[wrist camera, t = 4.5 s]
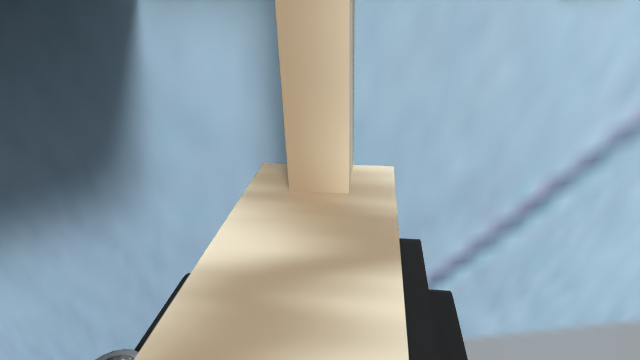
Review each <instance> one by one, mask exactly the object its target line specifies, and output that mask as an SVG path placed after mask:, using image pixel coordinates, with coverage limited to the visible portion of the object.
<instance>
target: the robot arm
mask: <svg viewBox="0 0 640 360" xmlns="http://www.w3.org/2000/svg"><path fill="white" fill-rule="evenodd" d="M399 242H400V254H401V267H402V279H403V292H404V304H405V317H406V329H407V342H408V354H409V360H468V359H467V355H466V351H465V346H464V342H463V338H462V334H461V329H460V325H459V321H458V317H457V312H456V308H455V304H454V300H453V296H452V293H451V292H450V291H444V290H429V289H428V283H427V277H426V271H425V265H424V258H423V252H422V246H421V241H420V239H401V238H400V239H399ZM190 274H191V273H188V274H186V275H185V276H184V277H183V278H182V280H181V281H180V283H179V284H178V286H177V287H176V289H175V290H174V292H173V293H172V295H171V296H170V298H169V299H168V301H167V302H166V304H165V305H164V307H163V308H162V310H161V311H160V313H159V314H158V316H157V317H156V319H155V320H154V322H153V323H152V324H151V326H150V327H149V329H148V330H147V332H146V333H145V335H144V336H143V338H142V339H141V341H140V342H139V344H138V345H137V347H136V348H135V350H130V349H122V350H116V351H112V352H110V353H107V354H105V355H102V356H100V357H99V358H97V359H96V360H134V359H135V357H136V356H137V354H138V353H139V351H140V350H141V348H142V347H143V345H144V344H145V342H146V341H147V339H148V338H149V336H150V334H151V333H152V331H153V330H154V328H155V327H156V325H157V324H158V322H159V321H160V319H161V318H162V316H163V315H164V313H165V312H166V310H167V309H168V307H169V306H170V304H171V303H172V301H173V300H174V298H175V296H176V295H177V293H178V292H179V290H180V289H181V287H182V286H183V284H184V283H185V281H186V280H187V278H188V277H189V275H190Z"/></svg>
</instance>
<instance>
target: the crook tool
mask: <svg viewBox="0 0 640 360" xmlns="http://www.w3.org/2000/svg"><path fill="white" fill-rule="evenodd" d="M354 1H355V0H275V9H276V22H277V36H278V49H279V62H280V76H281V89H282V102H283V115H284V129H285V142H286V155H287V163H263V164H262V166H261V167H260V169H259V170H258V172H257V173H256V175H255V176H254V178H253V179H252V181H251V182H250V184H249V186H248V187H247V189H246V190H245V192H244V193H243V195H242V196H241V198H240V199H239V201H238V202H237V204H236V205H235V207H234V208H233V210H232V211H231V213H230V214H229V216H228V217H227V219H226V220H225V222H224V224H223V225H222V227H221V228H220V230H219V231H218V233H217V234H216V236H215V237H214V239H213V240H212V242H211V243H210V245H209V246H208V248H207V249H206V251H205V252H204V254H203V255H202V257H201V258H200V260H199V262H198V263H197V265H196V266H195V268H194V269H193V271H192V272H191V274H190V275H189V277H188V278H187V280H186V281H185V283H184V284H183V286H182V287H181V289H180V290H179V292H178V293H177V295H176V296H175V298H174V300H173V301H172V303H171V304H170V306H169V307H168V309H167V310H166V312H165V313H164V315H163V316H162V318H161V319H160V321H159V322H158V324H157V325H156V327H155V328H154V330H153V331H152V333H151V334H150V336H149V338H148V339H147V341H146V342H145V344H144V345H143V347H142V348H141V350H140V351H139V353H138V354H137V356H136V357H135V359H134V360H409V354H408V342H407V329H406V317H405V304H404V292H403V279H402V267H401V254H400V242H399V229H398V217H397V204H396V192H395V179H394V166H366V165H353V130H354Z"/></svg>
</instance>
